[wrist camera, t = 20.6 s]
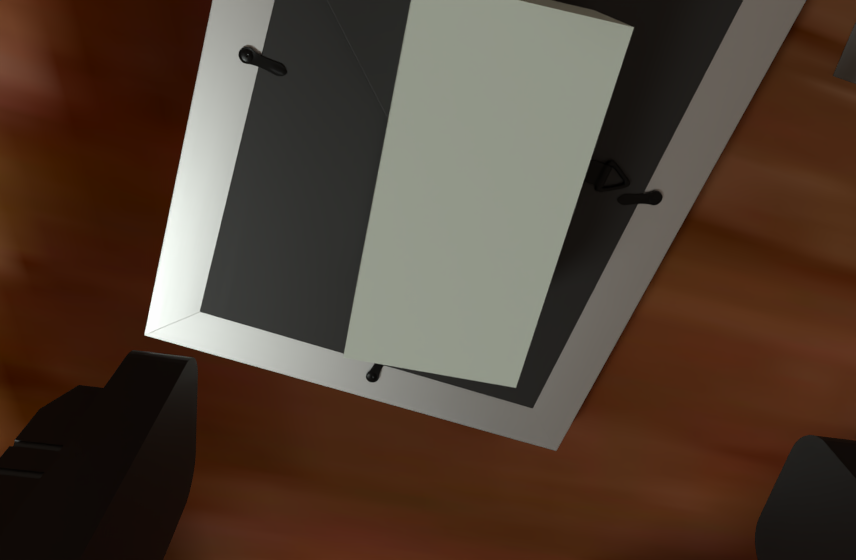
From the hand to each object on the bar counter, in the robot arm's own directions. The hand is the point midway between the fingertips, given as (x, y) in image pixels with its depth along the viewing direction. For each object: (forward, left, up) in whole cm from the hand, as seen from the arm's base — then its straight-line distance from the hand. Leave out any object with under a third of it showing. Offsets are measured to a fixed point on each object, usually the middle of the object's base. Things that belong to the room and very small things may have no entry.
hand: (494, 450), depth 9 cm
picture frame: (+1, 0, -16) cm, 16 cm away
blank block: (0, 0, -13) cm, 13 cm away
